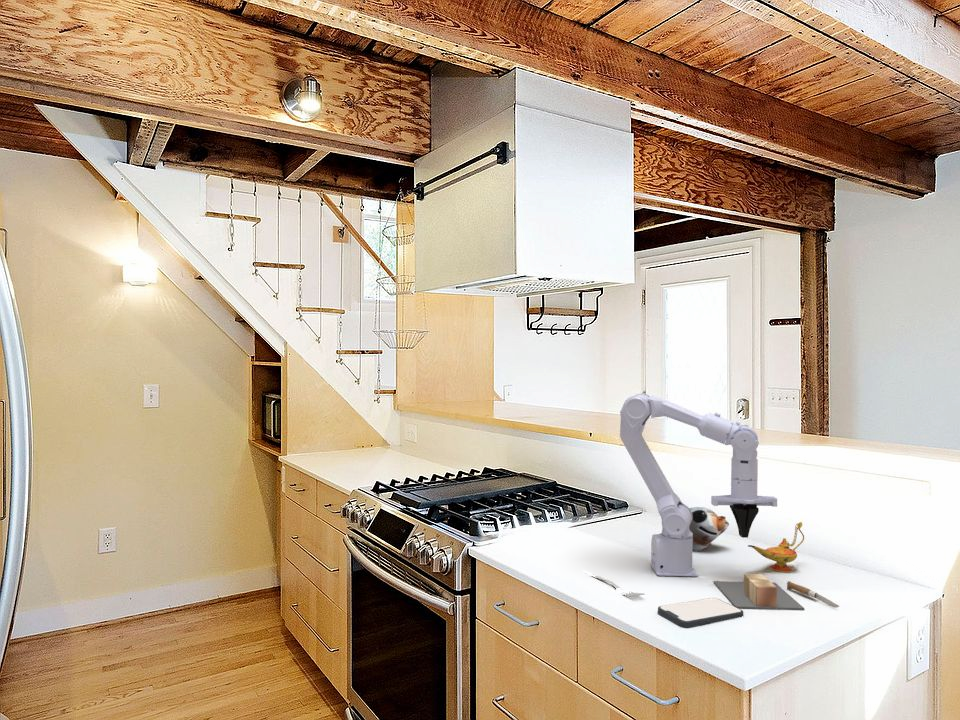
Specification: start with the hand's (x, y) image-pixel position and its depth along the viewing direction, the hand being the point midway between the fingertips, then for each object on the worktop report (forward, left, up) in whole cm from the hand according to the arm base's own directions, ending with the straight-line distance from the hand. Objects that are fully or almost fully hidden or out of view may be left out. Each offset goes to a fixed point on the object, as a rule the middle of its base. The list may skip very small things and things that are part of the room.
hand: (743, 536), depth 156 cm
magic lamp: (+11, +8, -11) cm, 17 cm away
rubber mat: (-1, -10, -10) cm, 14 cm away
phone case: (-16, -21, -11) cm, 28 cm away
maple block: (-1, -9, -8) cm, 12 cm away
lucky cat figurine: (-4, +26, -11) cm, 29 cm away
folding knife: (+11, -11, -11) cm, 19 cm away
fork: (-32, -3, -11) cm, 34 cm away
